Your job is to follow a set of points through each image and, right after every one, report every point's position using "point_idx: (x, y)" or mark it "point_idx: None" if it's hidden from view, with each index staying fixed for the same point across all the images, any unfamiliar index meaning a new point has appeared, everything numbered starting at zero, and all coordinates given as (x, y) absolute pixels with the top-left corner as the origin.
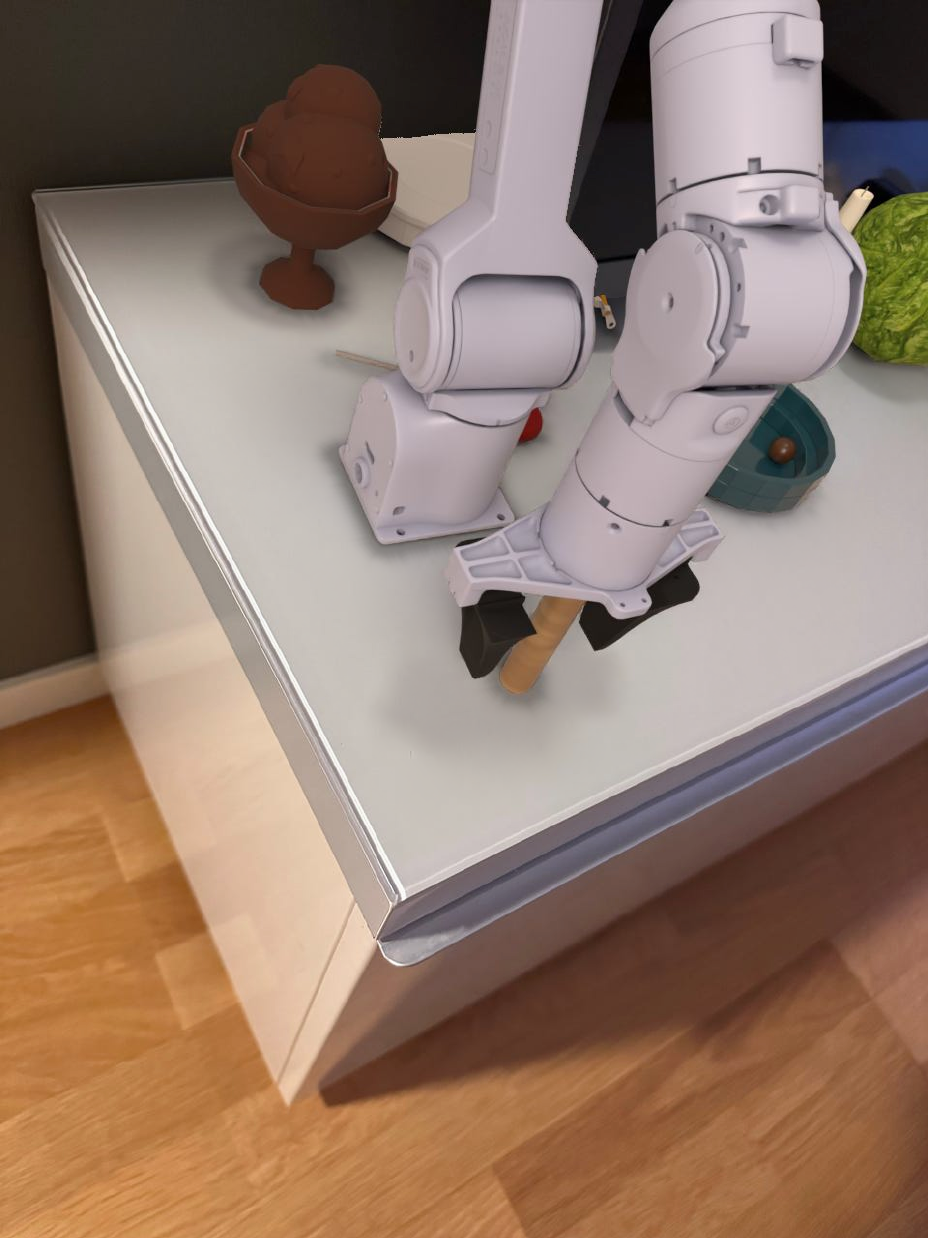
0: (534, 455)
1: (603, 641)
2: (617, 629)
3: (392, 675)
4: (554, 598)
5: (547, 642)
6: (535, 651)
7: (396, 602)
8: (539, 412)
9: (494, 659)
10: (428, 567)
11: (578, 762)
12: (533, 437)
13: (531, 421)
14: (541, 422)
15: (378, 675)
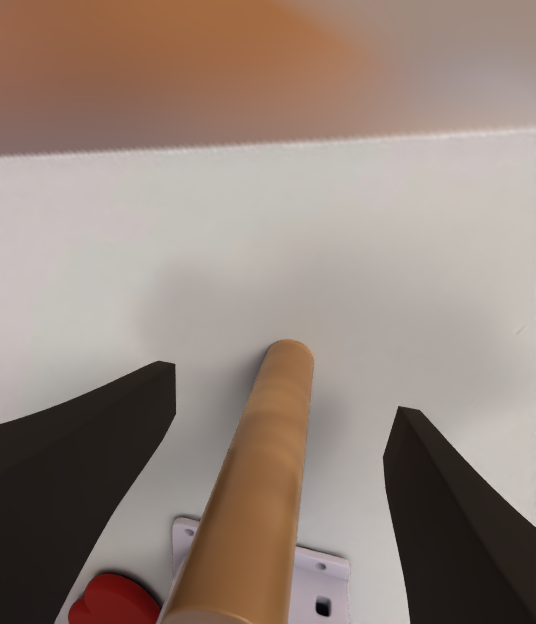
0: (112, 557)
1: (157, 380)
2: (123, 403)
3: (453, 432)
4: (288, 610)
5: (285, 436)
6: (298, 416)
7: (376, 501)
8: (85, 598)
9: (455, 469)
10: (308, 516)
11: (274, 210)
12: (104, 578)
13: (99, 595)
14: (88, 590)
15: (472, 440)
